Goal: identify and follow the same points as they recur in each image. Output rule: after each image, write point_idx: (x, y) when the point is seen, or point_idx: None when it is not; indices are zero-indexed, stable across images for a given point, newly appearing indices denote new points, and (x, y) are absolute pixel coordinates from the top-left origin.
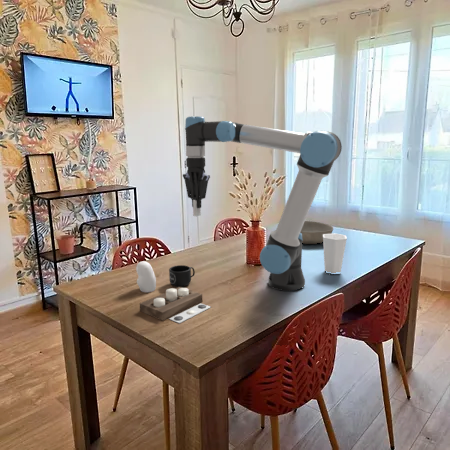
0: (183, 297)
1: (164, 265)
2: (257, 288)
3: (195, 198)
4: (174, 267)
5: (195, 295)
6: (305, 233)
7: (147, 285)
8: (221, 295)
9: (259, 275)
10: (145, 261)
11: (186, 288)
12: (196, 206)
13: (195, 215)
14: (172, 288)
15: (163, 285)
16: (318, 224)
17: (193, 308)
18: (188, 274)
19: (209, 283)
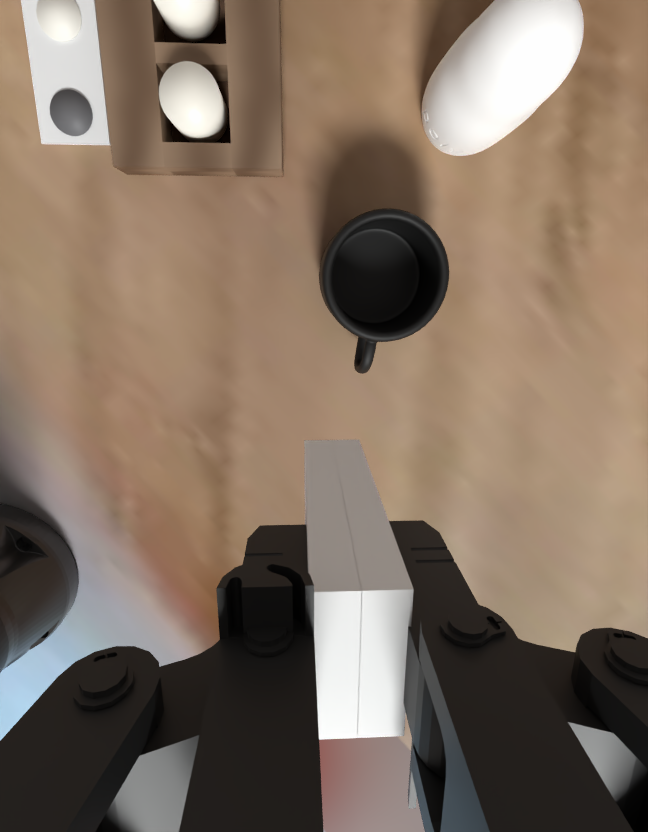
0: (151, 58)
1: (622, 423)
2: (56, 463)
3: (414, 700)
4: (437, 283)
5: (125, 126)
6: None
7: (440, 61)
8: (116, 295)
9: (159, 588)
10: (545, 46)
11: (191, 125)
12: (305, 526)
13: (315, 443)
14: (195, 2)
15: (432, 210)
16: None
17: (88, 67)
18: (321, 283)
19: (267, 376)
